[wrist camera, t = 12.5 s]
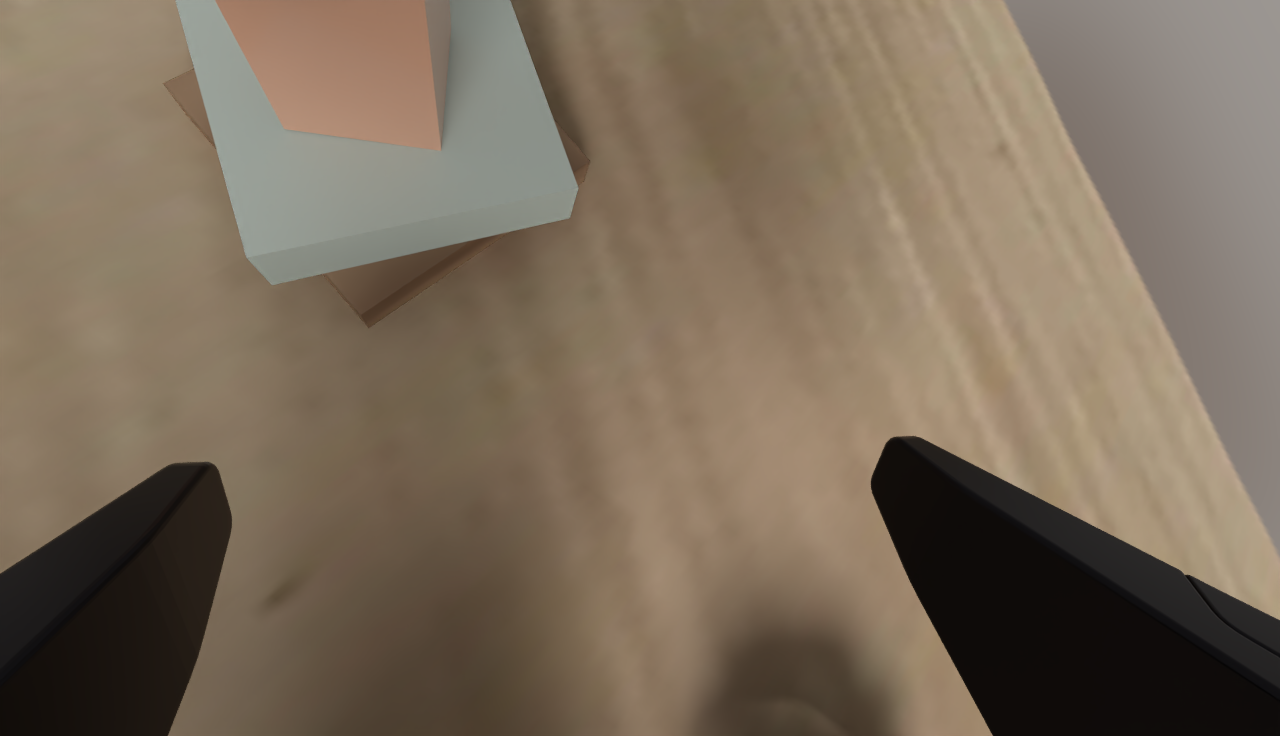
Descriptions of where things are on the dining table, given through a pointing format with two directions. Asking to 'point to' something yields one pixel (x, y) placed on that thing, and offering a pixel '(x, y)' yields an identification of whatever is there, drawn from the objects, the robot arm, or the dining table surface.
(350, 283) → the slab lower
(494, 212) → the slab upper
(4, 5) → the dining table surface
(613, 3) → the dining table surface
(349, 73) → the terracotta block
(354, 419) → the dining table surface
